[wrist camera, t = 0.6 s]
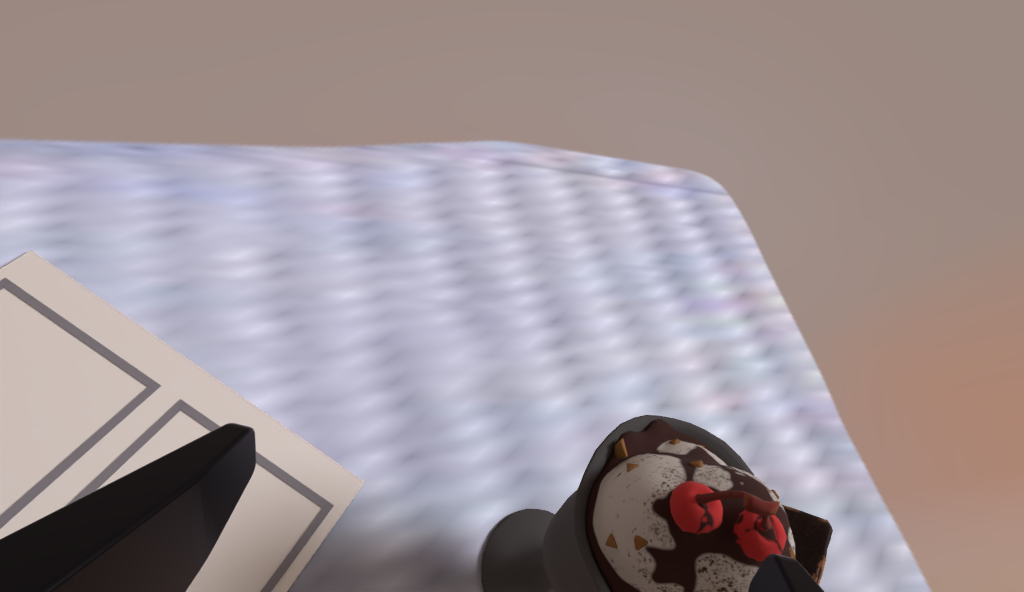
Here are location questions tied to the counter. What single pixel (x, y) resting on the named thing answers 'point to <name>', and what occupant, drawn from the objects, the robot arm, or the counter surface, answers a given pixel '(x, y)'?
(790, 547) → the sundae
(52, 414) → the form sheet
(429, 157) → the counter surface
